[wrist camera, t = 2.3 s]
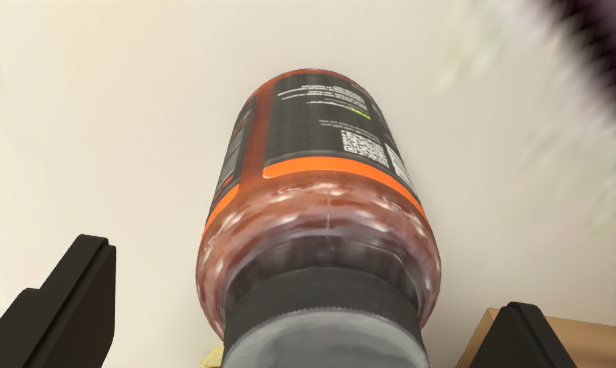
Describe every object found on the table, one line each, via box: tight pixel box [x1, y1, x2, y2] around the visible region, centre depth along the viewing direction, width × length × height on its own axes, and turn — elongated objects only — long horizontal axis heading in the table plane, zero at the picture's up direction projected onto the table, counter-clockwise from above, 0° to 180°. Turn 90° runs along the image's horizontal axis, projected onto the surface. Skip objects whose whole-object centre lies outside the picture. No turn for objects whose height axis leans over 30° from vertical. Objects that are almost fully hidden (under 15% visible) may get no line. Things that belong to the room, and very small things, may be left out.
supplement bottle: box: [196, 69, 441, 368], centre depth 13 cm, size 6×6×11 cm
